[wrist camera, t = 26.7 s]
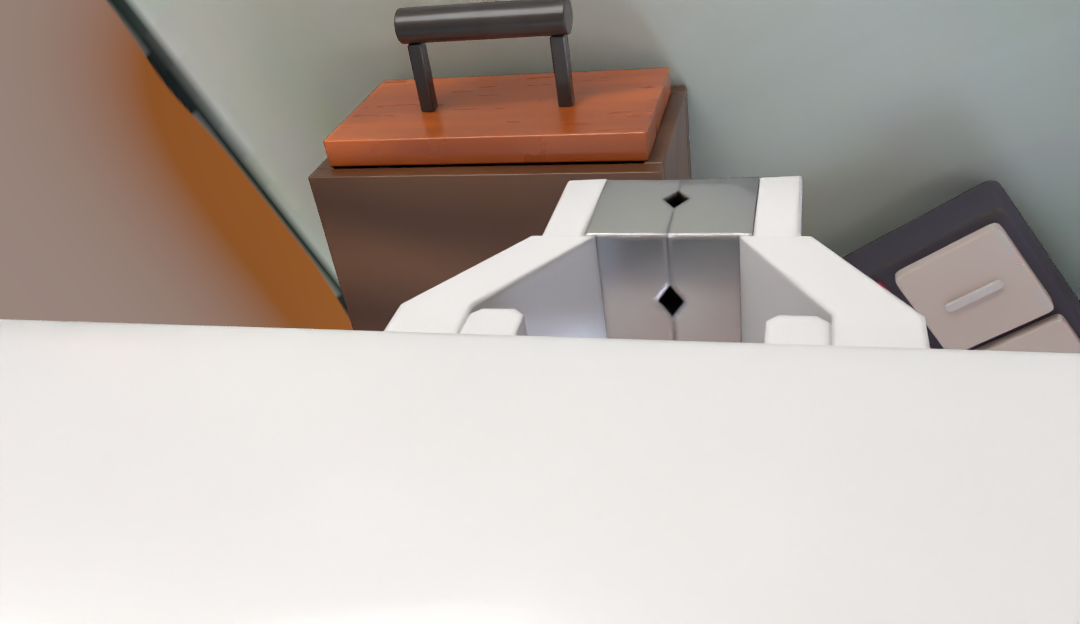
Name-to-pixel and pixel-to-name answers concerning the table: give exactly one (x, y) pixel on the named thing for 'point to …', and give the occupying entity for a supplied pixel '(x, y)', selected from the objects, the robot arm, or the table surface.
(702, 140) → the table surface
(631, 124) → the drawer
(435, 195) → the cabinet
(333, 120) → the table surface
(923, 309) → the calculator
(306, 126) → the table surface
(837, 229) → the table surface
